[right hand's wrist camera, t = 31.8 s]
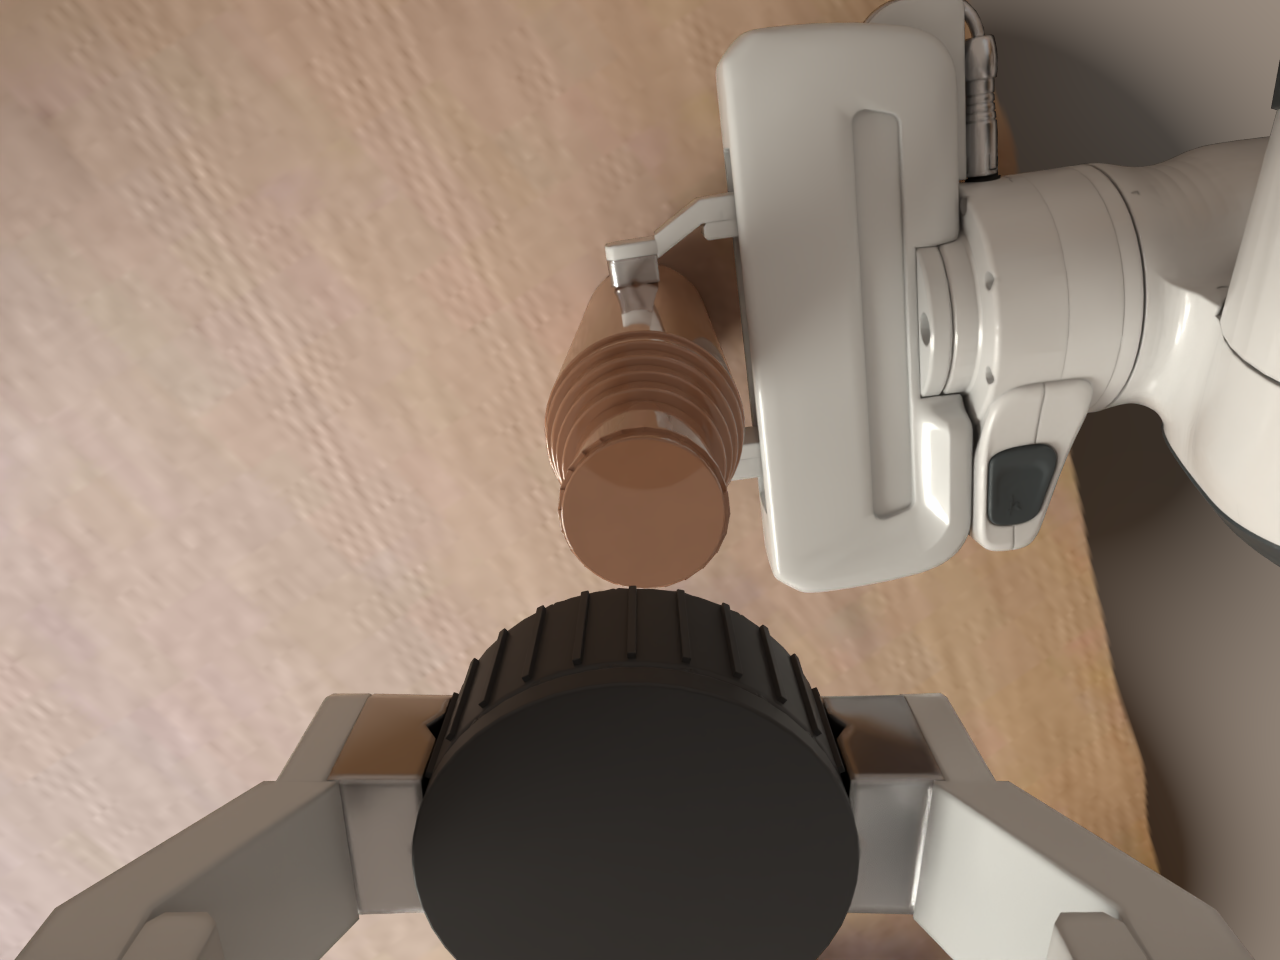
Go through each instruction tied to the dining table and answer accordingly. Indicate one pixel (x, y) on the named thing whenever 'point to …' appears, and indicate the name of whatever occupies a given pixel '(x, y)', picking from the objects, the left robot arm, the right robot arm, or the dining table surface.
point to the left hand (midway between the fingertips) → (622, 357)
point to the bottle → (645, 434)
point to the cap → (635, 792)
